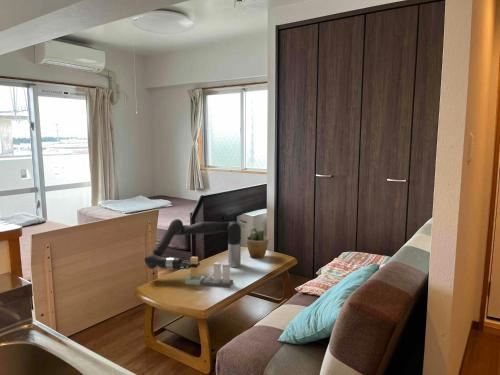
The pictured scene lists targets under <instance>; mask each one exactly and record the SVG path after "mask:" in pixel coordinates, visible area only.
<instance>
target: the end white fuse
mask: <svg viewBox="0 0 500 375" xmlns="http://www.w3.org/2000/svg"><path fill="white" fill-rule="evenodd" d="M222 279H223V280H228V283H229V282H230V279H231V267H230V263H227V262H224V263H222Z"/></svg>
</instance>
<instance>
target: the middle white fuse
mask: <svg viewBox="0 0 500 375" xmlns="http://www.w3.org/2000/svg"><path fill="white" fill-rule="evenodd" d="M213 278H214V279H219V282H220V281H221V279H222V263H221V262H217V261H216V262H214V263H213Z"/></svg>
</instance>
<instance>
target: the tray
mask: <svg viewBox="0 0 500 375" xmlns="http://www.w3.org/2000/svg"><path fill="white" fill-rule="evenodd" d="M205 278H206V276H205V275H200V274H198V275H197V276H191V274H190V275H189V276H187V278H186V279H185V280H184V283H185V285H186V286H187V285H188V286H197V287H198V286H200V287H201V286H202V281H203V280H204V279H205Z"/></svg>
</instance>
